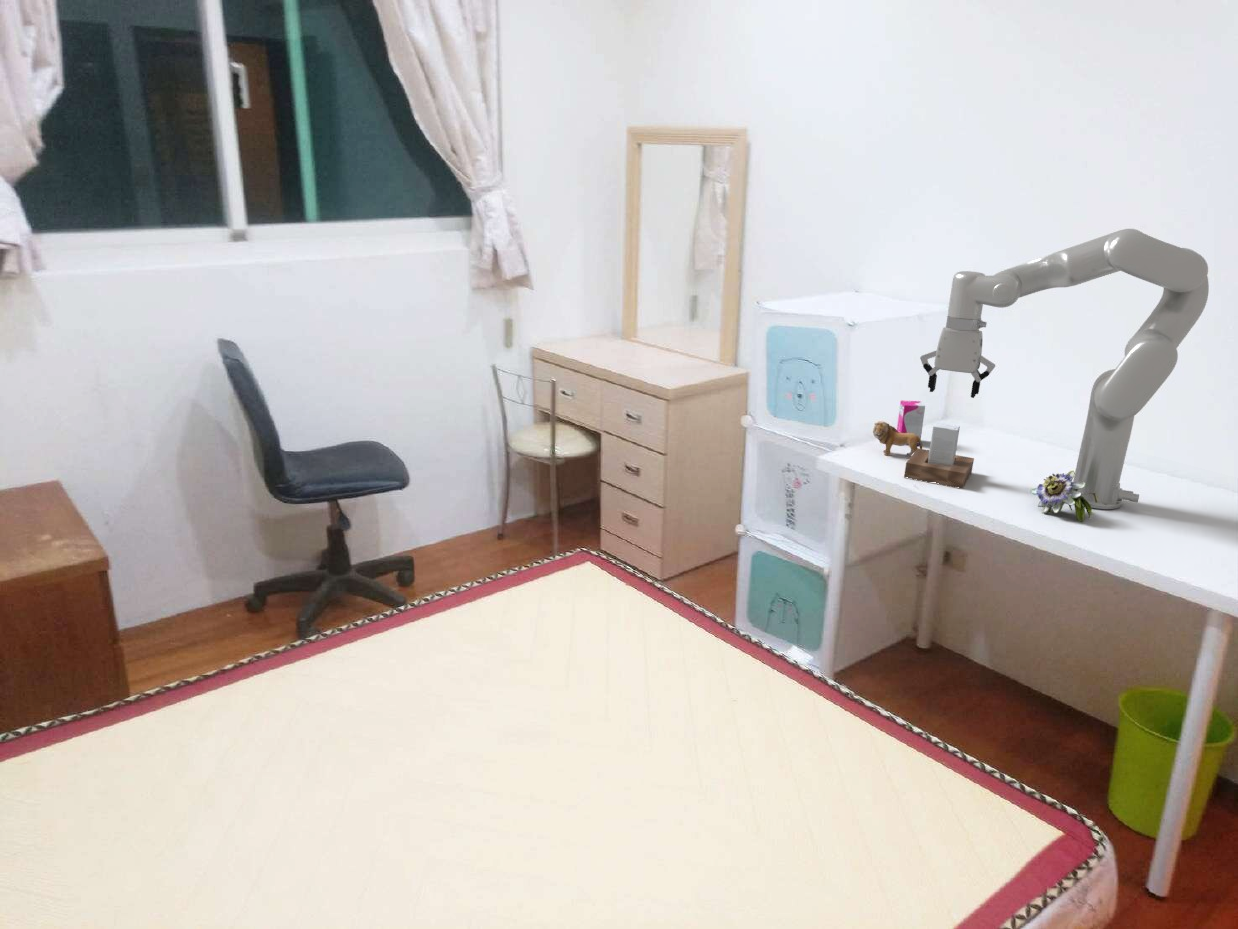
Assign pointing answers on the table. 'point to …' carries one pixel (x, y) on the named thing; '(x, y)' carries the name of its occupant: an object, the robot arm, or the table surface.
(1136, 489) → the table surface
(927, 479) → the holder block
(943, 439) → the skincare box
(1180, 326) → the robot arm
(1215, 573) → the table surface
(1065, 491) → the passion flower
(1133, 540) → the table surface
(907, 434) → the lion figurine
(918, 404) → the supplement box
